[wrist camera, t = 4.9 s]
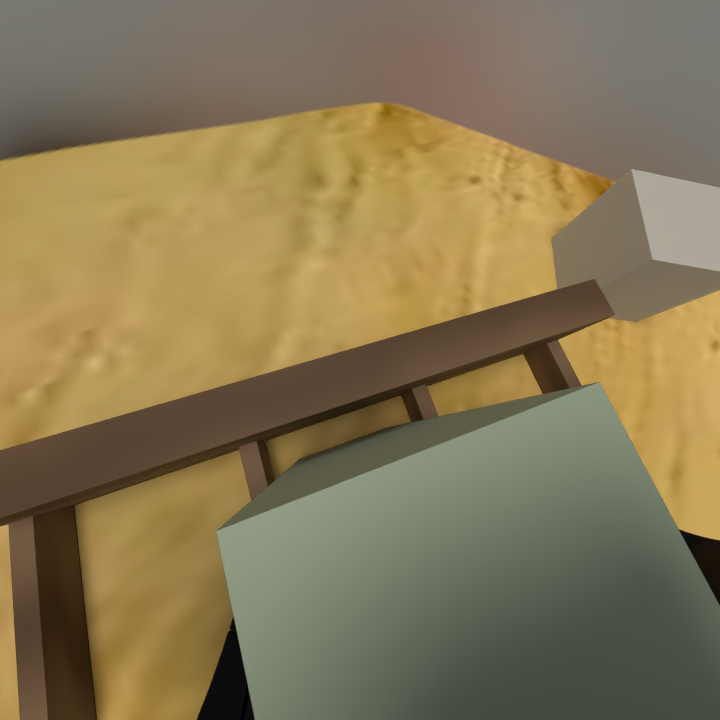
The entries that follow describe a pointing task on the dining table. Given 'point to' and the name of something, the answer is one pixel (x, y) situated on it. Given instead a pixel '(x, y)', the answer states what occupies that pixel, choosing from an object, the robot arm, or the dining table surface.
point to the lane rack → (224, 435)
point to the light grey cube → (644, 244)
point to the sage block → (473, 576)
